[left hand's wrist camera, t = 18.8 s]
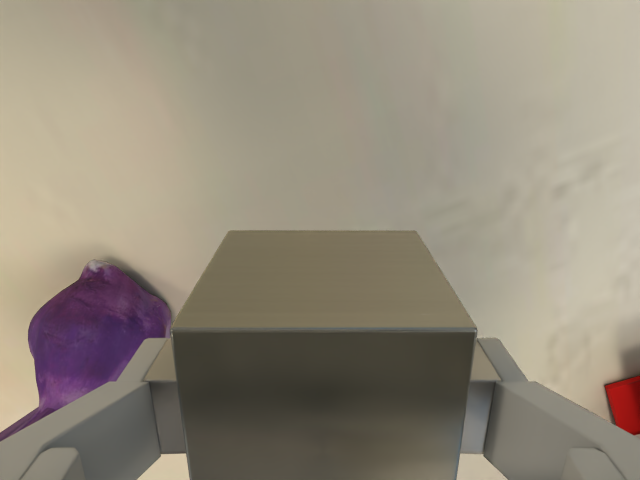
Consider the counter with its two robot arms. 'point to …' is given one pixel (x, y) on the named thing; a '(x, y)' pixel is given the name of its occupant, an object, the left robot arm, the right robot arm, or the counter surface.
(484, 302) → the counter surface
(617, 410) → the toy
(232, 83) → the counter surface
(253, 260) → the beige cube
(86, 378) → the figurine
